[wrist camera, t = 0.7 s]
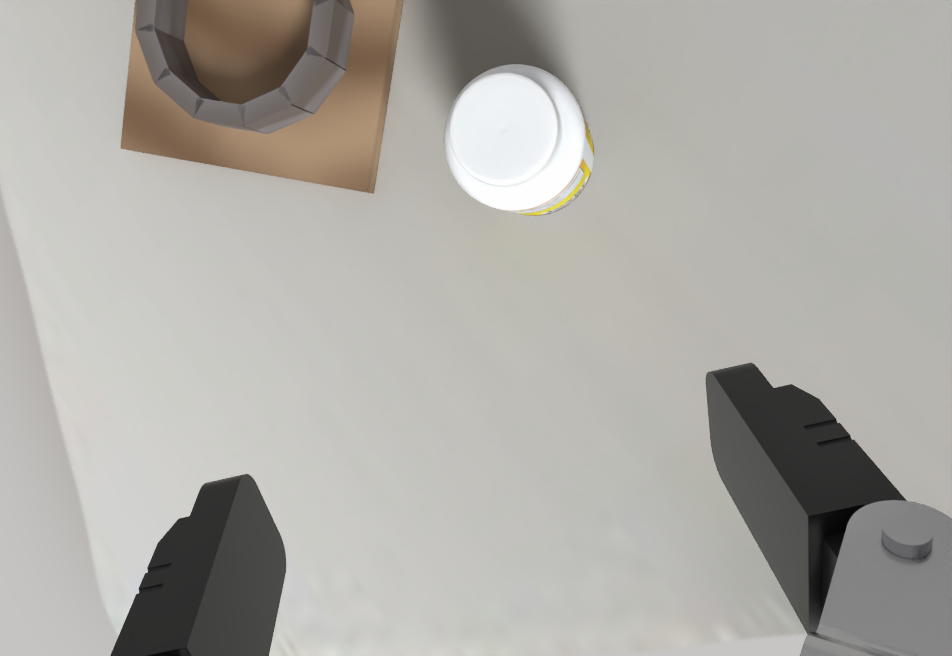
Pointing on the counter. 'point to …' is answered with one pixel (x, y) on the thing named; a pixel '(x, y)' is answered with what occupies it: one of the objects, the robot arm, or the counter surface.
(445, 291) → the counter surface
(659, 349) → the counter surface
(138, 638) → the robot arm
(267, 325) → the counter surface
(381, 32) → the ring collar
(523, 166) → the supplement bottle
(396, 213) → the counter surface
